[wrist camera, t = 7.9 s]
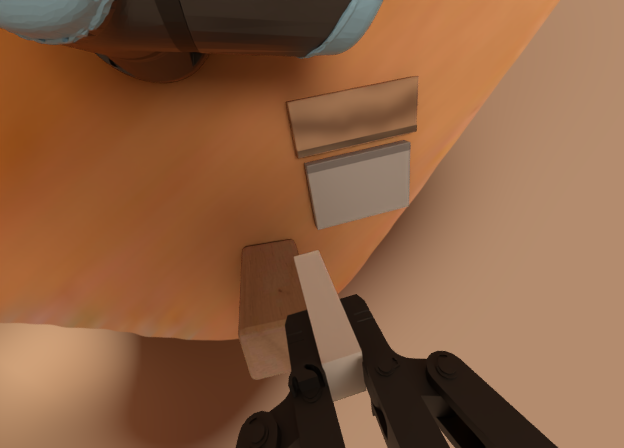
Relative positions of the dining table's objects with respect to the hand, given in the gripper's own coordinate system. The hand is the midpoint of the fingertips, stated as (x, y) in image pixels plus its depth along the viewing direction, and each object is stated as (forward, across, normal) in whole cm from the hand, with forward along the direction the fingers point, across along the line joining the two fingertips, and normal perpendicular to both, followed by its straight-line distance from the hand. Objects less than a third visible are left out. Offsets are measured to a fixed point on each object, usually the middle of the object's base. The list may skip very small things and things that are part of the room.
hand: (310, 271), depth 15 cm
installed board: (+29, +14, +3) cm, 33 cm away
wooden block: (+30, -5, -20) cm, 36 cm away
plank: (+29, +14, -8) cm, 33 cm away
